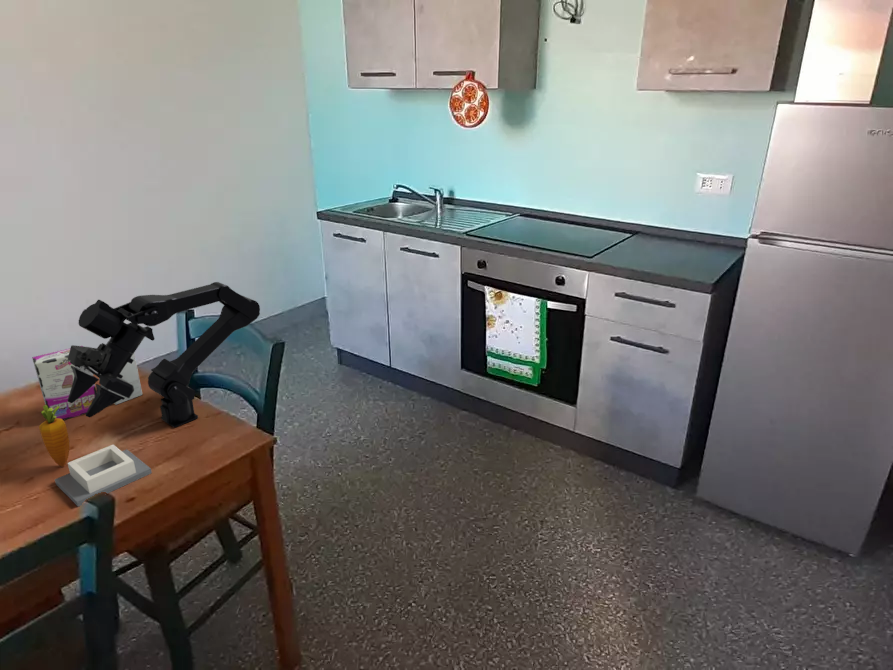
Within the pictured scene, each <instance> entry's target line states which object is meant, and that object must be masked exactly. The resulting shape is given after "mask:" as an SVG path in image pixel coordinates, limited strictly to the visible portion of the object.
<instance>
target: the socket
mask: <svg viewBox="0 0 893 670" xmlns="http://www.w3.org/2000/svg"><path fill="white" fill-rule="evenodd" d="M67 467H68V470H69V473H67V474H64V475H62V476H60V477H57V478H55V479H54V482H55V485H56V486H57V487H58V489H60V490H61V491H62V492H63V493H64V494H65V495H66V496H67V497H68V498H69V499H70V500H71V502H73V504H74V505H75V506H77V507H81V506H83V505H82V503H83V502H84V501H85V500H86V499H88V498H90V497H92V496H94V495H95V494H98V493H101V492H106V493H107V494H109V493H111V492H114V491H116V490H118V489H120V488H122V487H124V486H127V485H129V484H131V483H134V482H136V481H138V480H140V479H142V478H144V477H146V476H149V475H151V474H152V473H153V472H152V468H151V467H150V466H149V465H147V464H146V463H145V462H143V461H142V460H141V459H140V458H139V457H137V456H136V455H135V454H134V453H132V452H131V451H130V450H128V449H127V448H126V449H123V450H121V449H119V448H118V447H117V446H116V445H115V444H111V445H107V446H106V447H104V448H101V449H98V450H96V451H94V452H91V453H88V454H85V455H84V456H81V457H78V458H76V459H74V460H71V461H69V462H67Z"/></svg>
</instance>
